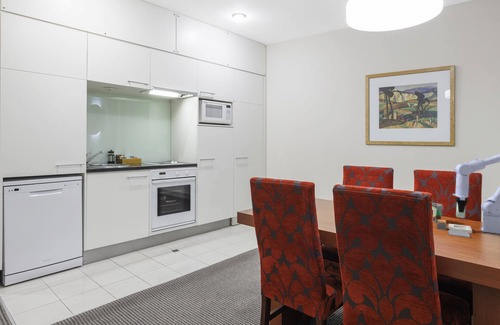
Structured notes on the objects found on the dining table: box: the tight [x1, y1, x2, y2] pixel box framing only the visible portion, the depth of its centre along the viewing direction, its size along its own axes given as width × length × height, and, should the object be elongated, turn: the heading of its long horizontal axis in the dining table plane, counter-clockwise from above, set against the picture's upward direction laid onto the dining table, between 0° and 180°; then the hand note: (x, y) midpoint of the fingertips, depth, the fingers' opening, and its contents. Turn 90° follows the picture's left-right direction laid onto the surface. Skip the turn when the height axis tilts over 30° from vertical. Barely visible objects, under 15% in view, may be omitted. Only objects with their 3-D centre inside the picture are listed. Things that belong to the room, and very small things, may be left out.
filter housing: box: [436, 222, 473, 234], centre depth 175 cm, size 16×10×3 cm, turn 60°
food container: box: [431, 202, 445, 224], centre depth 194 cm, size 12×6×10 cm, turn 179°
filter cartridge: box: [455, 203, 466, 219], centre depth 173 cm, size 4×4×9 cm
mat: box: [447, 229, 471, 238], centre depth 165 cm, size 9×9×1 cm
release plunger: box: [438, 219, 447, 224], centre depth 176 cm, size 4×4×4 cm
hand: (460, 211), depth 174 cm, fingers closed on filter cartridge, 4 cm apart
